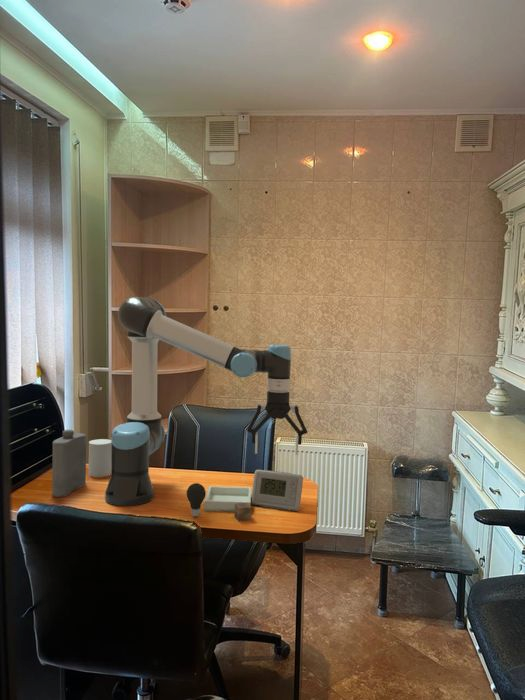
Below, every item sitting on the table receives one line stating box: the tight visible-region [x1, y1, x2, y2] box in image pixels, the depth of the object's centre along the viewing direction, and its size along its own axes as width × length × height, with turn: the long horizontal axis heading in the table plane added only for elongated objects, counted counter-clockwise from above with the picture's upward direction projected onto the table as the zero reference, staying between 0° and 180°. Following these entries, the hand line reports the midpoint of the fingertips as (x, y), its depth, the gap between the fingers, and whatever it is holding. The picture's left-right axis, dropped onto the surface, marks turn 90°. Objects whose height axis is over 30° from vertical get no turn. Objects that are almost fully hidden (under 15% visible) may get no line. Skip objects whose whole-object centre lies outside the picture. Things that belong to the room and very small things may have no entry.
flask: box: [51, 429, 87, 498], centre depth 173 cm, size 15×6×20 cm, turn 167°
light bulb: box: [185, 482, 207, 518], centre depth 153 cm, size 6×6×10 cm
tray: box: [203, 485, 252, 513], centre depth 165 cm, size 14×14×3 cm
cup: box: [88, 438, 112, 478], centre depth 191 cm, size 8×8×12 cm
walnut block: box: [233, 503, 253, 523], centre depth 153 cm, size 4×4×4 cm
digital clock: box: [251, 469, 304, 512], centre depth 164 cm, size 16×9×11 cm, turn 61°
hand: (276, 453), depth 176 cm, fingers open, 13 cm apart
